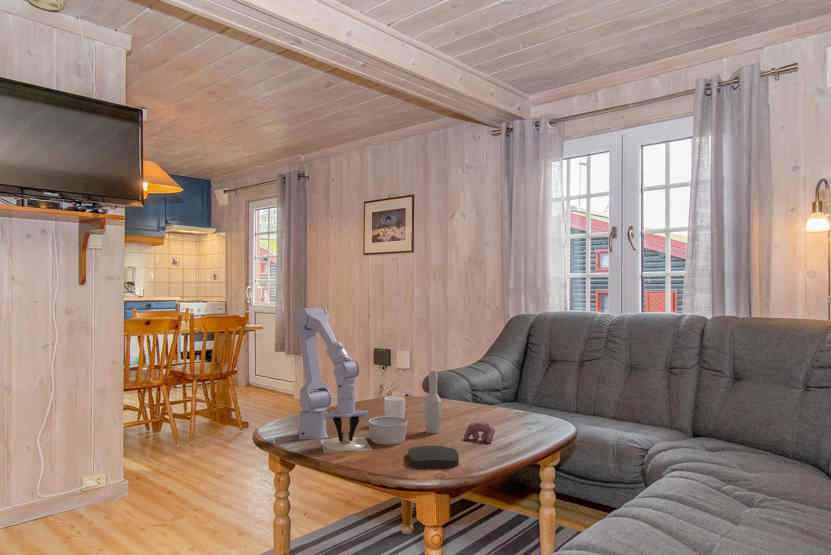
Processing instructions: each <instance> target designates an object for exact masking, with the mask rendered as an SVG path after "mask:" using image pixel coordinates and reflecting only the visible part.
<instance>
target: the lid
mask: <svg viewBox="0 0 831 555" xmlns="http://www.w3.org/2000/svg"><path fill="white" fill-rule="evenodd" d="M341 434H342V442H339V437H338V436H337V437H333V438H332V437H331V438H327V439H328V440H326V441H325V442H324V448H326V449H328V450H333V451H348V452H356V451H355V450H360V449H363V448H365V447H366V446H367V442H368V440H367V439H366V438H365V439H366V440H367V441H366V440H365V439H362V438H359V437H357V436H353V440H352V441H350V431H346V430H345V431H341Z"/></svg>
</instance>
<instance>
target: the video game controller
mask: <svg viewBox="0 0 831 555" xmlns="http://www.w3.org/2000/svg"><path fill="white" fill-rule="evenodd" d="M479 432H482V433H481V435H480V433H479ZM495 433H496V429H495V428H494V427H493V426H492V425H490V424H488V423H486V422H481V421H480V422H479V421H478V422H471V423H470V424H469V425H468V426H467V427H466V430H465V432H464V435H463V439H464V441H468V439H469V438H471V436H472V438H473V439H474V440H478V439H481V440H482V441H484V442H486V443H487V445H489V444H490V443H492V442H493V441H492V440H493V438H494V435H495Z"/></svg>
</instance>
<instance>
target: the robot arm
mask: <svg viewBox="0 0 831 555" xmlns="http://www.w3.org/2000/svg"><path fill="white" fill-rule="evenodd" d="M294 319H295V326H296V331H297V334H298V338H299V343H300V344H299V345H300V351H301V359H302V366H303V373H304V378H305V383H304V385H303V386H302V387H301V388H300V390H299V394H300V395H299V397H300V398H299V405H300V407H301V409H302V410H301V411H298V428H297V434H298V438H299V440H314V439H329V436H328V433H327V420H332V421H333V423H334V425H335V429H336V431H337V437H339V442H342V434H341V432H342V430H343V429H342V428H343V427H342V426H343V422H342V419H349V432H350V441H352V440H353V437H354V434H355V431H356V429H357V427H358V425H359V422H360V418H367V419H368V418H369V410H367V409H366V410H360V409H359V410H358V409H356V378H357V377H358V376H359V374H360V366H359V364H358V361H357V360H355V359H353V358H352V357H350V355H349V353H348V352H347V350H346V348H345V346H344V344H343V343H342V342H339V341H338V340H337V339H336V338H337V337H336V336H335V334H334V332H333V330H332V328H331V325H330V323H329V321H330V315H329V312H328V310H327V309H326V308H325V307H323V306H322V307H308V308H307V307H305V308H304V307H300V308H299V309H298V310H297V312H296V314H295V316H294ZM317 333H318V334H319V335H320V337H321V338H322V339H321V340H323V342H324V343H325V345H326V346H327V348H326V354H327V355H328V358H329V359H330V361H331V363H332V366H333V367H334V369H333V375H334V378H335V384H336V386H337V387H336V388H337V390H336V391H337V393H336V394H337V396H336V410H333V411H327V410H329V407H330V406H331V404H332V402H333V401H332V400H333V399H332V398H333V397H332V394H331V393H332V392H330V389H329V385H328V384H327V383H326V382H325V381H323V380H322V375H321V368H320V363H319V355H318V350H317V343H316V334H317Z"/></svg>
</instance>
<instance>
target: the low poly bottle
mask: <svg viewBox="0 0 831 555" xmlns="http://www.w3.org/2000/svg"><path fill="white" fill-rule="evenodd" d="M438 379H439V375H438V371H437V369H430V370H429V372H428V394H427V395H426V397H425V398H424V402H423V407H424V408H423V412H424V413H423V414H424V424H425V432H426V434H429V433H437V434H439V433H440V428H441V422H442V421H441V420H442V413H443V411H442V410H443V407H442V405H443V401H442V399H441V397H440V396H439V394H438V382H439V380H438Z"/></svg>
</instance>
